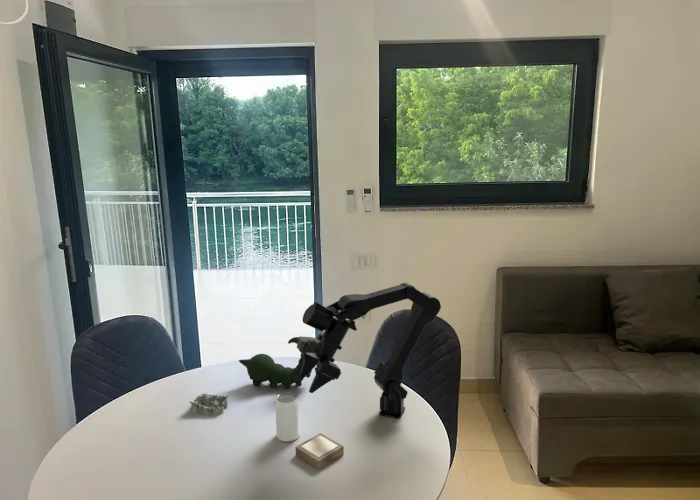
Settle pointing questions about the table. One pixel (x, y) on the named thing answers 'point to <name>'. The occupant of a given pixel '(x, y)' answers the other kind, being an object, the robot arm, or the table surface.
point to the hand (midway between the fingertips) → (305, 385)
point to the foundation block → (319, 451)
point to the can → (287, 417)
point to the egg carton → (210, 400)
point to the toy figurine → (273, 370)
